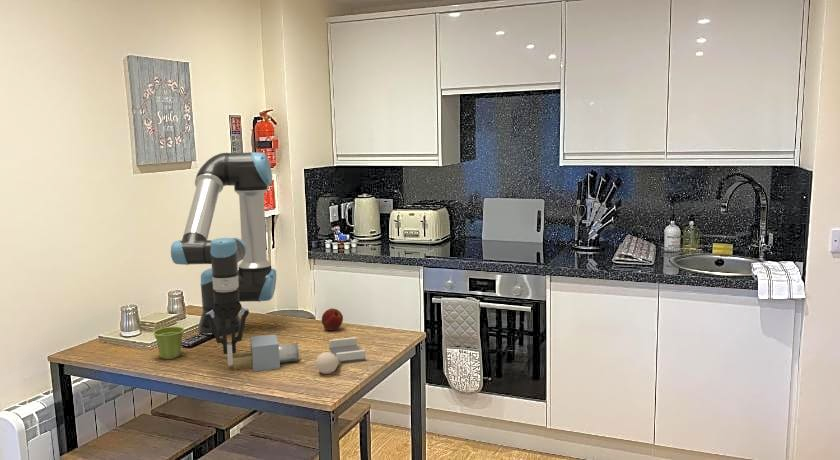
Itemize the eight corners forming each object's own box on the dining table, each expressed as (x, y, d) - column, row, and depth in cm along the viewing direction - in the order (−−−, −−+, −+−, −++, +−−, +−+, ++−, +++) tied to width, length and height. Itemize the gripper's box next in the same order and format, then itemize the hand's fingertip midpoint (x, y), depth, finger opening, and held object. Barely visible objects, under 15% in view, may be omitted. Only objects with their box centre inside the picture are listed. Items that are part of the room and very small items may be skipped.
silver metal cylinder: (260, 368, 202) (259, 352, 201) (258, 360, 208) (258, 344, 206) (299, 363, 206) (298, 347, 204) (296, 355, 211) (296, 340, 209)
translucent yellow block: (233, 365, 204) (232, 354, 204) (259, 362, 206) (258, 351, 206) (233, 369, 201) (232, 358, 200) (259, 366, 203) (259, 355, 202)
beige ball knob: (331, 347, 205) (315, 349, 195) (349, 354, 203) (334, 356, 193) (325, 368, 205) (309, 371, 194) (344, 374, 203) (328, 378, 192)
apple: (330, 334, 233) (330, 312, 232) (317, 329, 239) (316, 308, 237) (346, 329, 239) (346, 308, 237) (333, 325, 244) (332, 304, 243)
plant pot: (156, 353, 216) (154, 328, 215) (186, 350, 219) (184, 325, 217) (153, 362, 207) (151, 336, 206) (185, 359, 210) (183, 333, 209)
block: (251, 360, 208) (250, 337, 207) (276, 357, 211) (275, 334, 209) (253, 371, 199) (251, 347, 198) (280, 368, 201) (278, 344, 200)
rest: (329, 349, 218) (329, 339, 217) (356, 346, 220) (355, 337, 220) (337, 363, 204) (337, 354, 204) (365, 360, 207) (365, 350, 206)
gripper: (203, 294, 192) (208, 370, 196) (248, 290, 196) (252, 365, 200) (203, 288, 199) (208, 361, 203) (247, 284, 203) (251, 357, 207)
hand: (230, 363), depth 201 cm, fingers closed
